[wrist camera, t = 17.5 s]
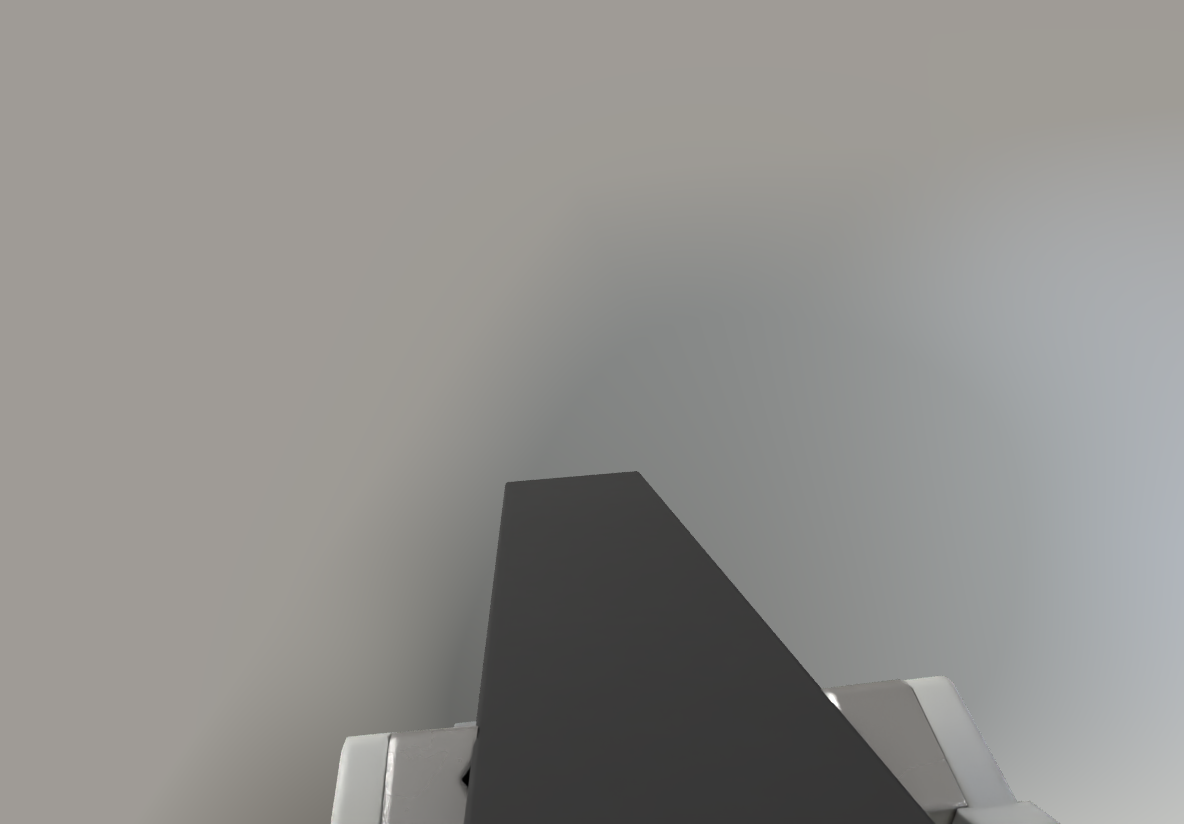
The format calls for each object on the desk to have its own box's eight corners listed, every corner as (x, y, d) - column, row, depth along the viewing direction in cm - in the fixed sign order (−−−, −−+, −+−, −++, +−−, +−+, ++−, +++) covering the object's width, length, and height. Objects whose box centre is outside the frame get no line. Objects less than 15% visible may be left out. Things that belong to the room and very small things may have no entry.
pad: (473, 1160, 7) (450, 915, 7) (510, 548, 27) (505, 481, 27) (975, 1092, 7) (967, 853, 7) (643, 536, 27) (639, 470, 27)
